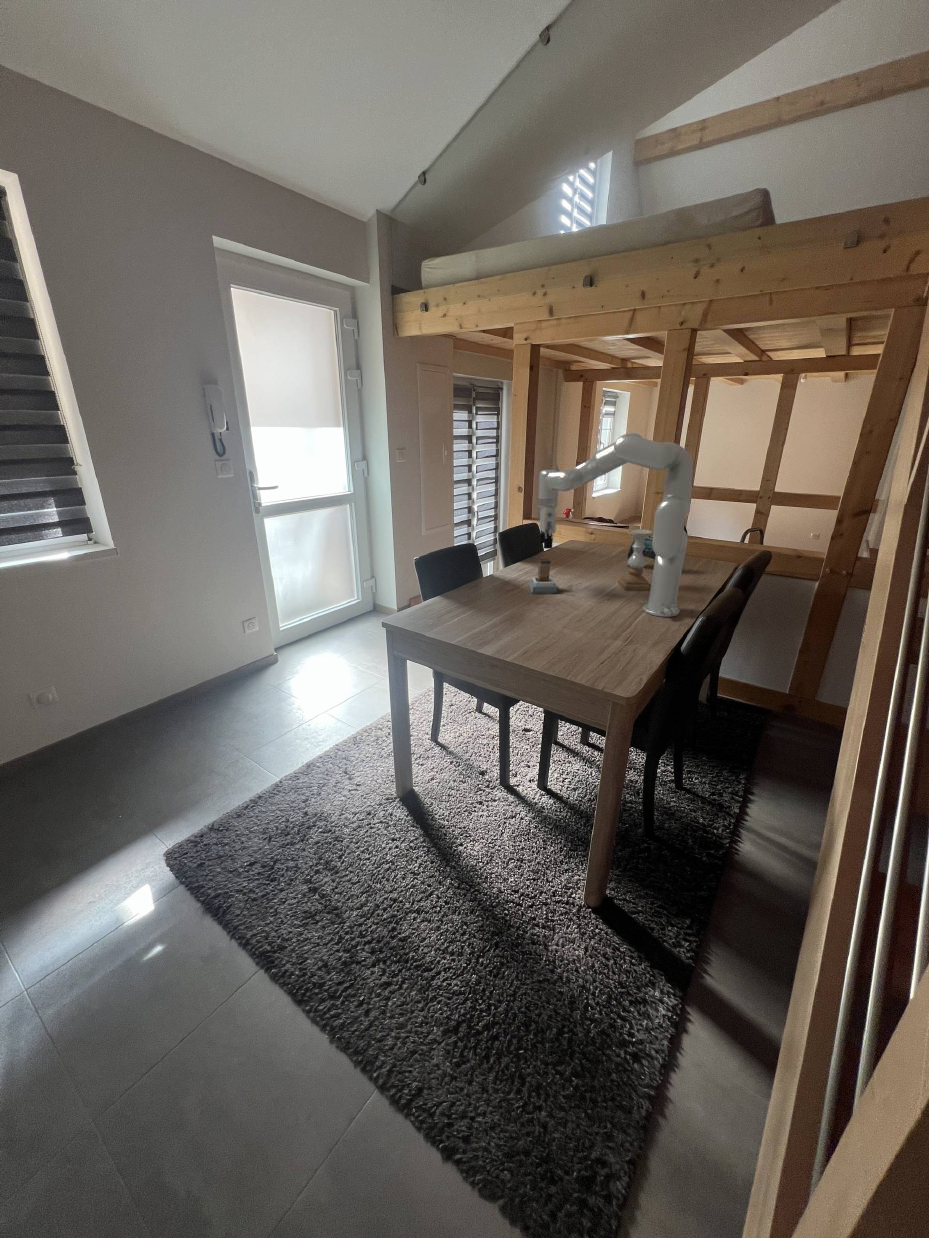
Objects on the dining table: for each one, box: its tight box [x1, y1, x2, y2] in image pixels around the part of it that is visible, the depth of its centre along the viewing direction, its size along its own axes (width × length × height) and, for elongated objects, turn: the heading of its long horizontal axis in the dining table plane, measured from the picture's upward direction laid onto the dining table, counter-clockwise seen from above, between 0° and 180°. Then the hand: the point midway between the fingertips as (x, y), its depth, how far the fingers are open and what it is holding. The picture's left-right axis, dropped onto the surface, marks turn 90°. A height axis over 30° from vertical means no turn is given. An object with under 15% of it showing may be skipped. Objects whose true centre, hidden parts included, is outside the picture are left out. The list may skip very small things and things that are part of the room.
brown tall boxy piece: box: [537, 558, 551, 582], centre depth 205 cm, size 4×4×12 cm
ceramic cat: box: [627, 536, 656, 568], centre depth 232 cm, size 20×6×20 cm, turn 46°
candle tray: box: [528, 576, 558, 595], centre depth 207 cm, size 10×10×4 cm
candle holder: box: [617, 528, 653, 591], centre depth 207 cm, size 11×11×24 cm
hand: (545, 545), depth 200 cm, fingers open, 9 cm apart
